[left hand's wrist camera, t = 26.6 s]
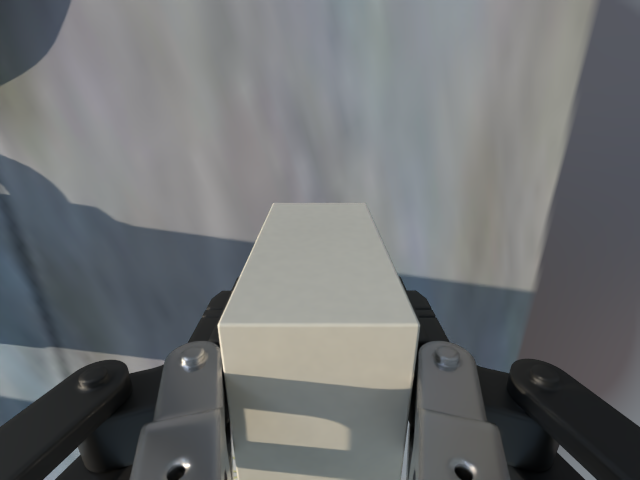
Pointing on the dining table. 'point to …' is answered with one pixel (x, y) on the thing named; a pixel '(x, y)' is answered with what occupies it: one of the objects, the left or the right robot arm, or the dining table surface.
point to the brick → (319, 349)
